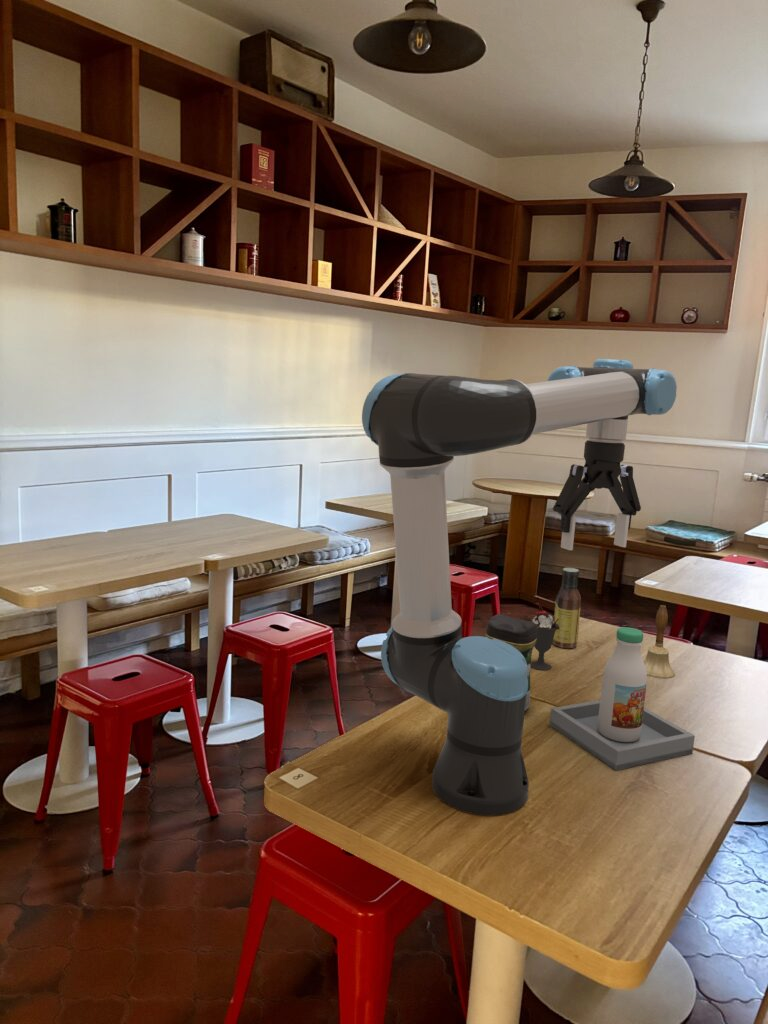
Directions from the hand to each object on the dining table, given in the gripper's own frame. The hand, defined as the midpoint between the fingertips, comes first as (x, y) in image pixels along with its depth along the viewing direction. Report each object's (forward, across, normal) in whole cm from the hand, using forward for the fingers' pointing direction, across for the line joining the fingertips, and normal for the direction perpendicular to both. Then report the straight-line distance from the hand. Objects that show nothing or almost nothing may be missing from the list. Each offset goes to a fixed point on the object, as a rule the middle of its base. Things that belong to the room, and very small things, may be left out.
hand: (593, 547), depth 150 cm
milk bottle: (+32, +4, +16) cm, 36 cm away
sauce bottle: (+33, -20, -29) cm, 48 cm away
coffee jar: (+33, +16, -3) cm, 37 cm away
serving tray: (+33, +4, +16) cm, 37 cm away
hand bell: (+33, -30, -8) cm, 45 cm away
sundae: (+33, -5, -19) cm, 38 cm away
